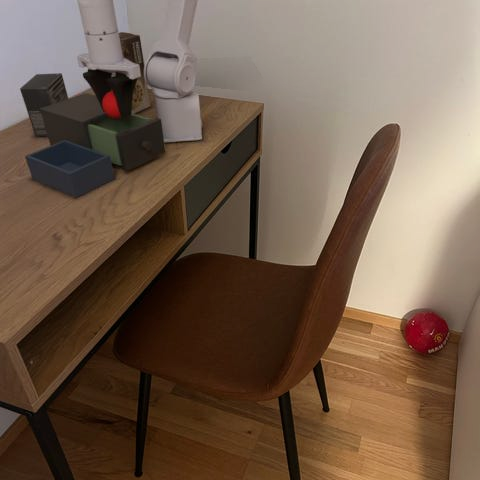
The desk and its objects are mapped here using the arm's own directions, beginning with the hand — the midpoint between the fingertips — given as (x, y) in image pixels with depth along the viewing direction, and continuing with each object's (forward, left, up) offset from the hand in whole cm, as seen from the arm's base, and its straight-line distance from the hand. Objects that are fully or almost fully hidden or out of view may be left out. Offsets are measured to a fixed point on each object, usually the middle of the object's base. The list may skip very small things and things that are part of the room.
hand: (117, 113), depth 91 cm
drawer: (0, 0, -8) cm, 8 cm away
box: (+10, +7, -9) cm, 15 cm away
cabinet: (+7, -8, -9) cm, 14 cm away
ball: (0, 0, +1) cm, 2 cm away
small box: (+17, -21, -10) cm, 29 cm away
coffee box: (0, -30, -10) cm, 32 cm away
